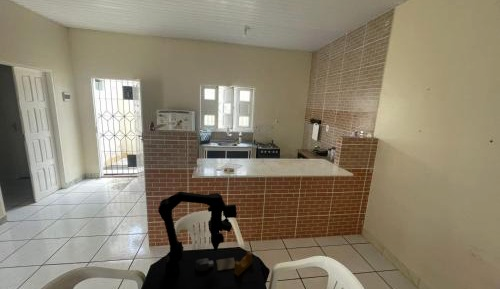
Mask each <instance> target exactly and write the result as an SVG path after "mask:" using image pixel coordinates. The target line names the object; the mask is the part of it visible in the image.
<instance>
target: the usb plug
mask: <svg viewBox="0 0 500 289" xmlns="http://www.w3.org/2000/svg"><path fill="white" fill-rule="evenodd" d="M210 267H214V260H209V258H208V257H207V258H200V259H197V260H196V261H195V271H197V272H204V271H209V270H210V269H209V268H210Z"/></svg>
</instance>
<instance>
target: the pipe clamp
mask: <svg viewBox="0 0 500 289" xmlns="http://www.w3.org/2000/svg"><path fill="white" fill-rule="evenodd" d="M252 264H253V252H250V251H247V252H246V254H245V256H243V257H242V258H241V259H240V261H238V260H236V261H235V269H234V275H236V276H237V277H239V276H240V275H241V274H242V273H243V272H244V271H246V270H247V269H248V268H249V267H250V266H251V265H252Z"/></svg>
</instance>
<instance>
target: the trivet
mask: <svg viewBox="0 0 500 289" xmlns="http://www.w3.org/2000/svg"><path fill="white" fill-rule="evenodd" d="M215 262H216V268H217V272H221V271H228V270H233V269H234V270H235V262H236V261H235V257H227V258H221V259H216V260H215Z"/></svg>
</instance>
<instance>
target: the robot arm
mask: <svg viewBox="0 0 500 289" xmlns="http://www.w3.org/2000/svg"><path fill="white" fill-rule="evenodd" d="M180 203H191V204H201V205H206V206H208V207H207V212H208V213H209V212H210V218H209V220H208V222H207V223H208V230H209V234H210V243H211V245H212V248H213V250H214V251H215V252H217V251H218V249H219V246H220V244H223V243H225V238H224V234H223V233H221V232H223V231H224V232H225V231H226V232H227V233H230V232H231V231H232V228H233V224H232V222H231V221H230V220H229V219H234V218H235V219H236V218H237V216H238V215H237V213H238V212H237V205H236V204H226V203H225V202H224V199H223V196H222V194H220V193H208V194H202V193H193V192H187V191H178V192H177V193H175V194H173V195H171V196H169V197H167V198H165V199H162V200H161V201H160V202H159V206H158V214H159V216H160V218H161V219H162V220H163V223H164V226H165V232H166V235H167V238H168V242H169V251H168V252H167V253H166V258H165V259H166V260H165V265H164V266H165V279H169V278H174V277H175V278H176V277H179V276H180V272H181V260H182V259H183V256H184V246H183V240H181V241H179V239H178V235H177V231H176V226H175V223H174V218H173V210H174V209H175V208H177V206H178V205H179V204H180ZM223 217H224V219H222V218H223Z"/></svg>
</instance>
